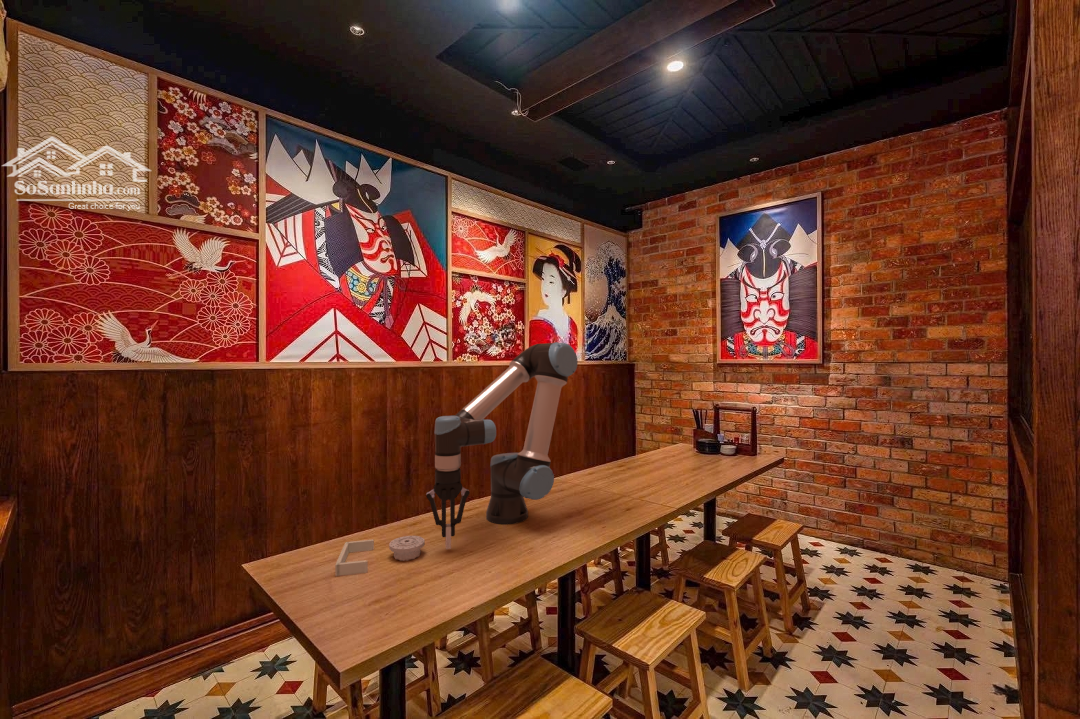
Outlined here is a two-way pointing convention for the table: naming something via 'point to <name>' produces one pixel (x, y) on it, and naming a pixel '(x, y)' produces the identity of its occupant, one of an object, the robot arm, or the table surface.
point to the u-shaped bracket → (355, 566)
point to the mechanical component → (406, 547)
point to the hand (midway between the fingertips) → (448, 547)
